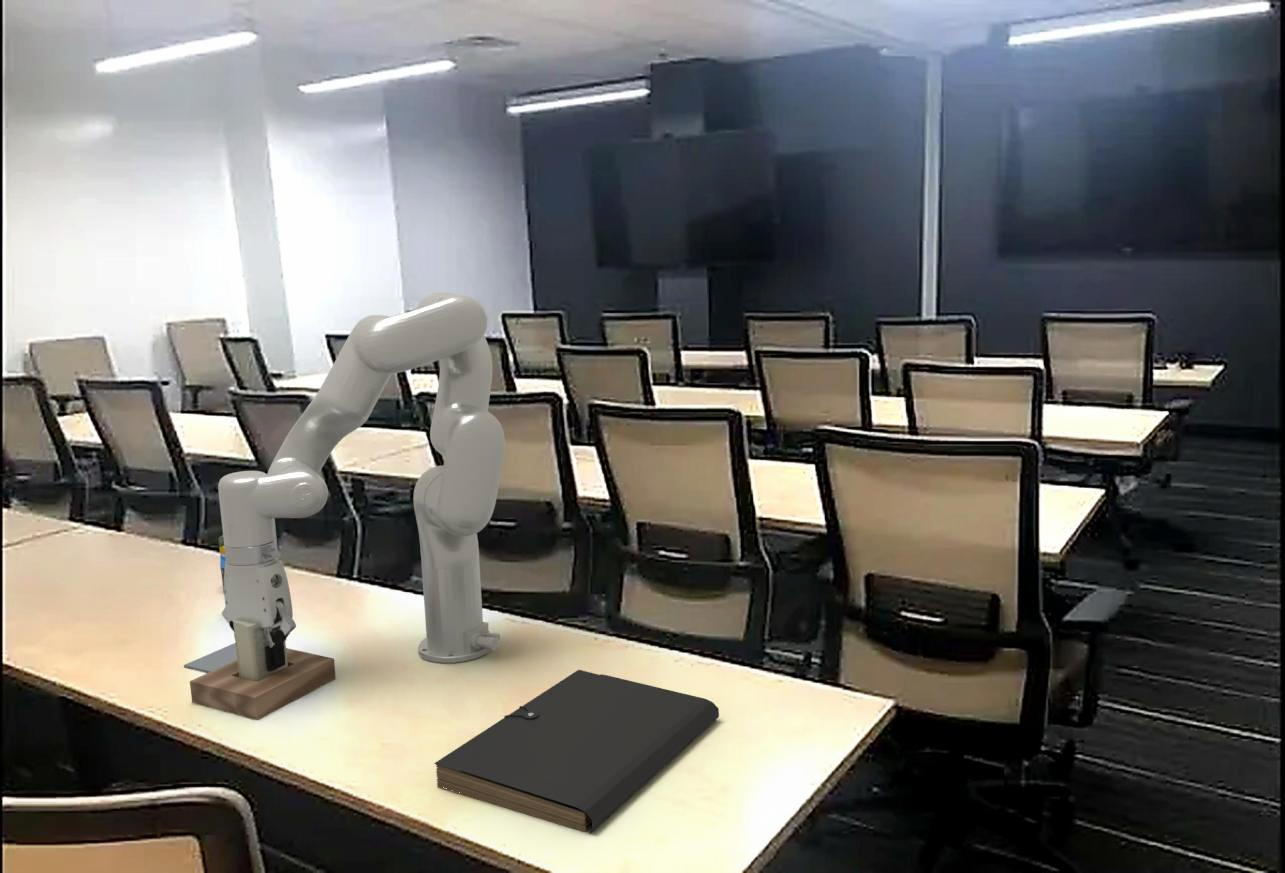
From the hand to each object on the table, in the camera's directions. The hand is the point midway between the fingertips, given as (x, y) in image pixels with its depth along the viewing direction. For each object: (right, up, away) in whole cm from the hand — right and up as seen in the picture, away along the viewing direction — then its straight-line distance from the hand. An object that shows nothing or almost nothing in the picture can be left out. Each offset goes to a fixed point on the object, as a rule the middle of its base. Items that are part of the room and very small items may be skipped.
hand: (262, 663), depth 165 cm
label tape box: (-15, +1, +33) cm, 37 cm away
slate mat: (-9, -2, +13) cm, 16 cm away
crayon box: (-23, +4, +51) cm, 57 cm away
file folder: (+51, -8, -22) cm, 56 cm away
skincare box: (0, -5, +1) cm, 5 cm away
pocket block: (0, -4, +1) cm, 4 cm away
